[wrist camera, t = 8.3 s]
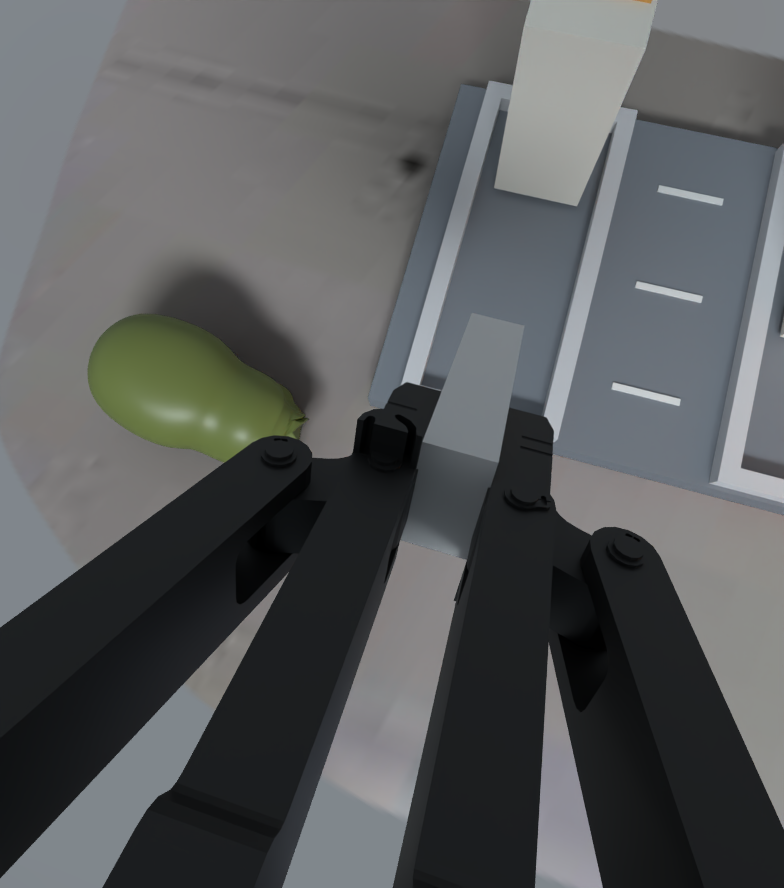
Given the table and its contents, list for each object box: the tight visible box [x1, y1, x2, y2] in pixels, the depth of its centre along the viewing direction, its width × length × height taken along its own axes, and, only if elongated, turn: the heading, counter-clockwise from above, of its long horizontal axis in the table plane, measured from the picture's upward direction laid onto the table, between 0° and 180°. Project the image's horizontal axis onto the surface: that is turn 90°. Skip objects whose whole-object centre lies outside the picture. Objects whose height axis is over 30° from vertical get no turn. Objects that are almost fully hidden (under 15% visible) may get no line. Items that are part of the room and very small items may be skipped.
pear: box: [88, 314, 309, 462], centre depth 27 cm, size 6×5×10 cm
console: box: [368, 80, 784, 515], centre depth 28 cm, size 24×17×2 cm
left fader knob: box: [494, 0, 658, 206], centre depth 24 cm, size 4×4×9 cm
